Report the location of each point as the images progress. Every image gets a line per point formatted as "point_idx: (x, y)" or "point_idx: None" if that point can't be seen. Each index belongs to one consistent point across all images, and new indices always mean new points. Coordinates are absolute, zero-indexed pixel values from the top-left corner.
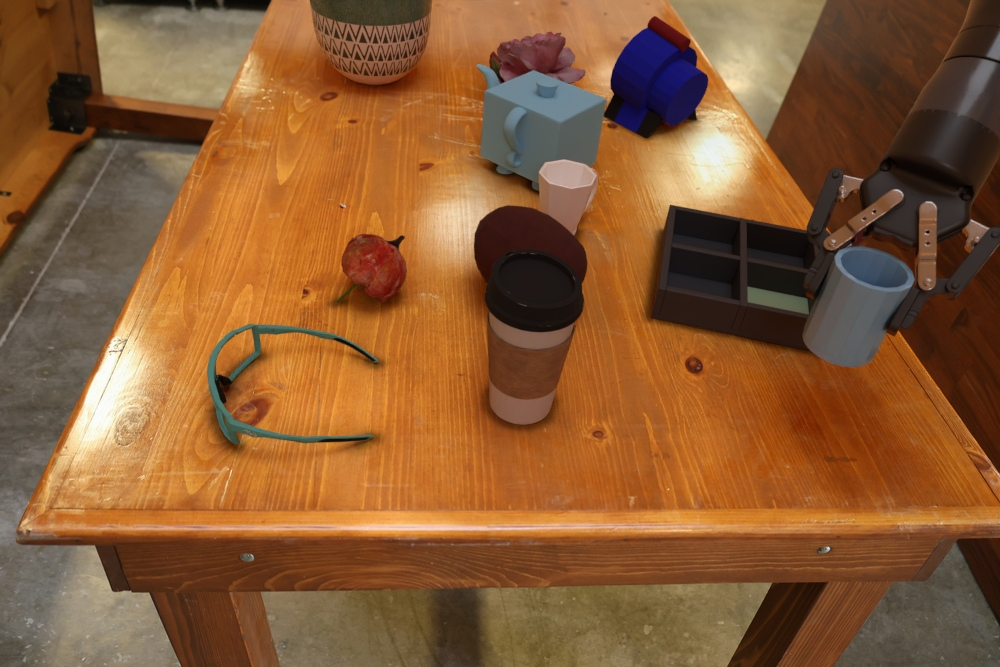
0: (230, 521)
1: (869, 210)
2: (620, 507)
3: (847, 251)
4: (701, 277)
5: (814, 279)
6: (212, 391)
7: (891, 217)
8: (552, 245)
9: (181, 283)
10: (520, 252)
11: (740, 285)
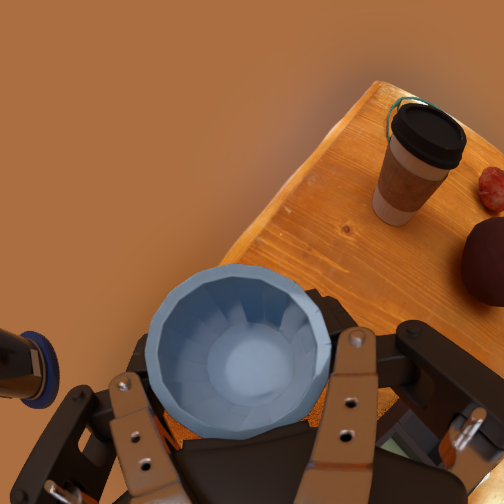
0: (361, 100)
1: (362, 427)
2: (287, 201)
3: (316, 356)
4: None
5: (318, 298)
6: (413, 97)
7: (287, 473)
8: (500, 240)
9: (487, 148)
10: (461, 132)
11: (415, 442)
